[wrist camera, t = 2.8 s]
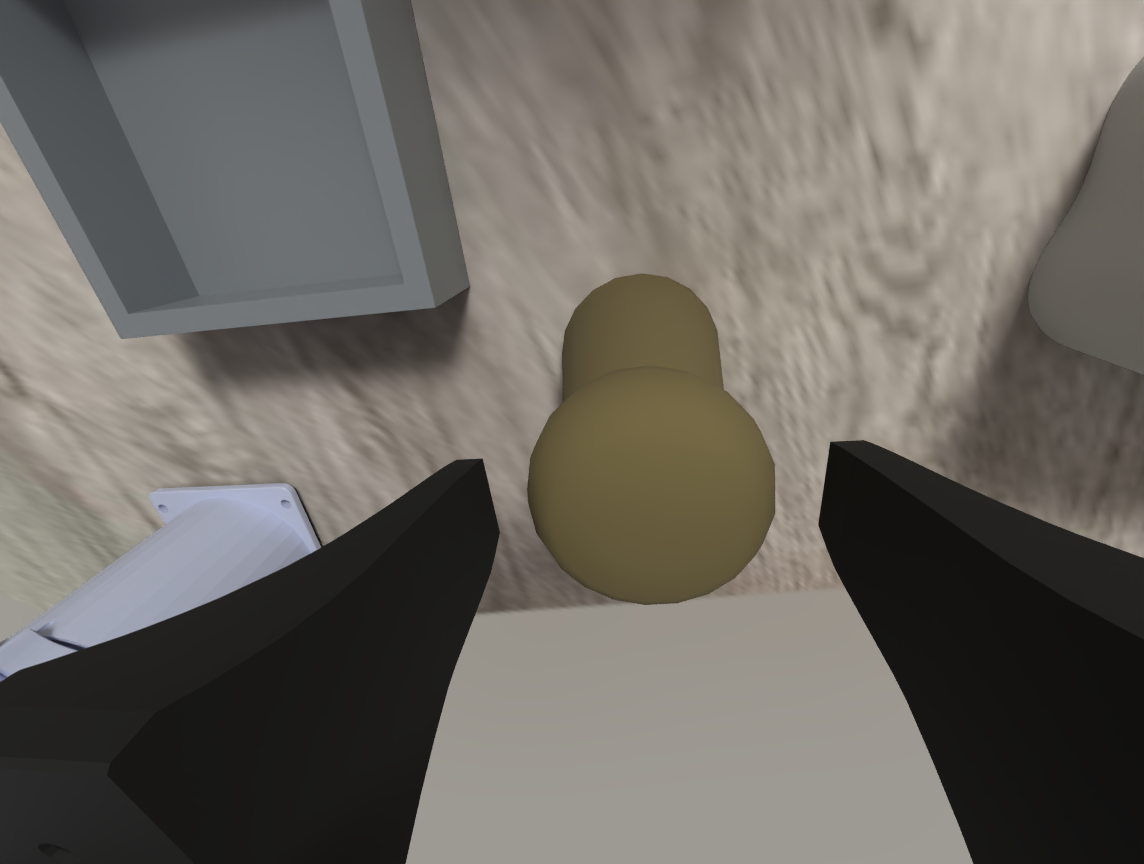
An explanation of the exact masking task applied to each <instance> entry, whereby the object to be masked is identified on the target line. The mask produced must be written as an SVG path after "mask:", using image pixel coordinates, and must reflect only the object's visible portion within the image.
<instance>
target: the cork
mask: <svg viewBox="0 0 1144 864" xmlns="http://www.w3.org/2000/svg"><path fill="white" fill-rule="evenodd" d="M562 370H563V404H562V405H560V406H559V407H558V408H557V409H556V410H555V411H554V412H553V413H552V414H551V415H550V417H549V419H548V421H547V423H546V425H545V427H544V429H543V431H542V433H541V435H540V437H539V439H538V441H537V443H536V445H535V447H534V450H533V452H532V455H531V457H530V467H529V477H528V488H527V491H528V503H529V507H530V511H531V515H532V518H533V522H534V525H535V529H536V533H537V534H538V536H539V537H540V539H541V540H542V542H543V543H544V545H545V546H546V547H547V549H548V550H549V552H550V553H551V555H552V556H553V557H554V559H555V560H556V562H557V563H558V564H559V566H560V567H561V569H562V570H564V571H565V572H566V573H568V574H569V575H570V576H571V577H573V578H574V579H575V580H577V581H578V582H579V583H580V584H582V585H583V586H584V587H586V588H588V589H591V590H593V591H595V592H598V593H600V594H602V595H605V596H607V597H609V598H612V599H615V600H620V601H626V602H632V603H638V604H643V605H650V604H668V603H679V602H683V601H686V600H689V599H693V598H696V597H700V596H703V595H707V594H709V593H711V592H712V591H714V590H716V589H717V588H719V587H721V586H722V585H724V584H726V583H727V582H729V581H731V580H732V579H734V578H735V577H736V576H737V575H738V574H739V573H740V572H741V571H742V570H743V569H744V568H745V566H746V565H747V564H748V563H749V562H750V561H751V560H752V559H753V558H754V556H755V555H756V554H757V552H758V551H759V549H760V547H761V546H762V544H763V542H764V539H765V537H766V535H767V532H768V530H769V527H770V525H771V522H772V520H773V517H774V515H775V464H774V462H773V459H772V457H771V454H770V452H769V450H768V447H767V445H766V443H765V440H764V438H763V435H762V433H761V431H760V429H759V427H758V426H757V424H756V422H755V421H754V419H753V418H752V417H751V416H750V415H749V414H748V413H747V412H746V410H745V409H744V408H743V407H742V406H741V405H740V404H739V403H738V402H737V401H736V400H735V399H734V398H733V397H732V396H731V395H730V394H729V393H728V392H727V391H725V390H724V387H723V378H722V369H721V360H720V351H719V343H718V334H717V329H716V326H715V324H714V322H713V319H712V317H711V315H710V312H709V310H708V308H707V307H706V305H705V304H704V303H703V302H702V301H701V300H700V299H699V298H698V297H697V296H696V295H695V294H694V292H693V291H692V290H691V289H689V288H687V287H685V286H683V285H681V284H679V283H678V282H676V281H674V280H672V279H670V278H668V277H662V276H655V275H648V274H636V275H631V276H625V277H620V278H615V279H613V280H611V281H610V282H608V283H606V284H604V285H602V286H600V287H598V288H597V289H595V290H593V291H592V292H591V293H590V294H589V295H588V296H587V297H586V298H585V299H584V300H583V301H582V302H581V304H580V305H579V306H578V307H577V308H576V309H575V311H574V313H573V315H572V317H571V319H570V321H569V324H568V326H567V328H566V330H565V336H564V344H563V352H562Z"/></svg>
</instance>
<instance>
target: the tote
mask: <svg viewBox="0 0 1144 864" xmlns="http://www.w3.org/2000/svg"><path fill="white" fill-rule="evenodd" d="M0 122H1V124H2V126H3V128H4V129H5V131H6V133H7V135H8V137H9V138H10V140H11V142H12V144H13V146H14V147H15V149H16V151H17V153H18V155H19V156H20V158H21V160H22V162H23V164H24V165H25V167H26V169H27V171H28V173H29V174H30V176H31V178H32V180H33V182H34V183H35V185H36V187H37V189H38V191H39V192H40V194H41V196H42V198H43V200H44V201H45V203H46V205H47V207H48V209H49V210H50V212H51V214H52V216H53V218H54V219H55V221H56V223H57V225H58V227H59V228H60V230H61V232H62V234H63V236H64V237H65V239H66V241H67V243H68V245H69V246H70V248H71V250H72V252H73V254H74V255H75V257H76V259H77V261H78V263H79V264H80V266H81V268H82V270H83V272H84V273H85V275H86V277H87V279H88V281H89V282H90V284H91V286H92V288H93V290H94V291H95V293H96V295H97V297H98V299H99V300H100V302H101V304H102V306H103V308H104V309H105V311H106V313H107V315H108V317H109V318H110V320H111V322H112V324H113V326H114V327H115V329H116V331H117V333H118V335H119V336H120V338H121V339H127V338H137V337H147V336H157V335H167V334H177V333H187V332H197V331H207V330H217V329H227V328H237V327H247V326H257V325H267V324H277V323H287V322H297V321H307V320H317V319H327V318H337V317H347V316H357V315H367V314H377V313H387V312H397V311H407V310H417V309H427V308H436V307H437V306H439V305H441V304H442V303H444V302H445V301H447V300H449V299H450V298H452V297H454V296H455V295H457V294H458V293H460V292H462V291H463V290H465V289H466V288H468V287H470V285H469V280H468V275H467V270H466V266H465V261H464V256H463V251H462V246H461V242H460V237H459V232H458V227H457V222H456V217H455V213H454V208H453V203H452V198H451V193H450V189H449V184H448V179H447V174H446V169H445V165H444V160H443V155H442V150H441V145H440V140H439V136H438V131H437V126H436V121H435V116H434V112H433V107H432V102H431V97H430V92H429V88H428V83H427V78H426V73H425V68H424V63H423V59H422V54H421V49H420V44H419V39H418V35H417V30H416V25H415V20H414V15H413V11H412V6H411V1H410V0H0Z"/></svg>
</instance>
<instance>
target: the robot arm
mask: <svg viewBox="0 0 1144 864" xmlns="http://www.w3.org/2000/svg"><path fill="white" fill-rule="evenodd" d="M149 498H150V500H151V502H152V504H153V505H154V507H155V509H156V510H157V512H158V513H159V515H160V517H161V518H162V520H163V521H164V523H165V525H164V526H163V527H161V528H160V529H159V530H157V531H156V532H155V533H153V534H152V535H150V536H149V537H148V538H146V539H145V540H144V541H142V542H141V543H139V544H138V545H137V546H135V547H134V548H133V549H131V550H130V551H128V552H127V553H126V554H124V555H123V556H122V557H120V558H119V559H117V560H116V561H115V562H113V563H112V564H111V565H109V566H108V567H106V568H105V569H104V570H102V571H101V572H100V573H98V574H97V575H95V576H94V577H93V578H91V579H90V580H89V581H87V582H86V583H84V584H83V585H82V586H80V587H79V588H78V589H76V590H75V591H73V592H72V593H71V594H69V595H68V596H67V597H65V598H64V599H62V600H61V601H60V602H58V603H57V604H56V605H54V606H53V607H51V608H50V609H49V610H47V611H46V612H45V613H43V614H42V615H40V616H39V617H38V618H36V619H35V620H34V621H33V622H31V623H29V624H28V625H27V626H25V627H24V628H23V629H21V630H20V631H19V632H17V633H16V634H14V635H13V636H11V637H9V638H7V639H5V640H4V641H2V642H0V864H405V863H406V859H407V854H408V850H409V845H410V841H411V836H412V832H413V827H414V823H415V818H416V814H417V809H418V805H419V800H420V795H421V791H422V787H423V783H424V779H425V775H426V770H427V767H428V763H429V759H430V755H431V750H432V746H433V743H434V738H435V734H436V731H437V727H438V723H439V720H440V716H441V712H442V708H443V705H444V701H445V697H446V694H447V690H448V687H449V684H450V681H451V678H452V674H453V671H454V669H455V666H456V663H457V660H458V658H459V655H460V653H461V650H462V647H463V645H464V642H465V639H466V637H467V634H468V632H469V629H470V626H471V624H472V621H473V619H474V616H475V613H476V611H477V608H478V606H479V603H480V600H481V598H482V595H483V592H484V589H485V587H486V584H487V581H488V579H489V576H490V573H491V569H492V565H493V561H494V557H495V553H496V548H497V543H498V538H499V534H500V531H499V527H498V523H497V518H496V514H495V510H494V505H493V501H492V497H491V493H490V488H489V484H488V480H487V475H486V471H485V467H484V463H483V459H465V460H456V461H454V462H452V463H450V464H448V465H447V466H445V467H443V468H442V469H440V470H439V471H437V472H436V473H434V474H433V475H431V476H430V477H429V478H427V479H426V480H424V481H423V482H421V483H420V484H419V485H417V486H416V487H414V488H413V489H411V490H410V491H408V492H407V493H406V494H404V495H403V496H401V497H400V498H398V499H397V500H396V501H394V502H393V503H391V504H390V505H388V506H387V507H385V508H384V509H382V510H381V511H379V512H378V513H376V514H375V515H373V516H371V517H370V518H368V519H367V520H365V521H364V522H362V523H361V524H359V525H357V526H356V527H354V528H353V529H351V530H350V531H348V532H347V533H345V534H343V535H342V536H340V537H338V538H337V539H335V540H333V541H332V542H330V543H328V544H326V545H325V546H323V547H321V546H320V544H319V541H318V539H317V537H316V535H315V533H314V530H313V528H312V526H311V524H310V522H309V519H308V517H307V515H306V513H305V511H304V508H303V506H302V504H301V502H300V500H299V497H298V495H297V493H296V491H295V489H294V488H293V487H292V486H291V485H289V484H285V483H274V484H252V485H229V486H206V487H184V488H161V489H156V490H155V491H153V492H152V493H151V494H150V497H149ZM288 501H289V502H290V503H289V502H288ZM818 525H819V528H820V531H821V533H822V536H823V539H824V542H825V544H826V547H827V550H828V552H829V555H830V557H831V560H832V562H833V565H834V567H835V570H836V571H837V573H838V575H839V577H840V579H841V581H842V583H843V585H844V586H845V588H846V590H847V592H848V594H849V595H850V597H851V599H852V601H853V602H854V605H855V606H856V608H857V610H858V612H859V614H860V615H861V617H862V619H863V621H864V623H865V624H866V626H867V628H868V630H869V631H870V633H871V635H872V636H873V639H874V640H875V642H876V644H877V646H878V648H879V649H880V651H881V653H882V655H883V656H884V658H885V660H886V662H887V664H888V665H889V667H890V669H891V671H892V673H893V674H894V677H895V679H896V681H897V682H898V684H899V686H900V688H901V690H902V692H903V694H904V696H905V698H906V700H907V703H908V705H909V707H910V710H911V712H912V714H913V716H914V719H915V721H916V723H917V726H918V728H919V730H920V733H921V735H922V737H923V740H924V742H925V744H926V746H927V749H928V751H929V753H930V756H931V758H932V760H933V763H934V765H935V768H936V770H937V773H938V775H939V778H940V780H941V783H942V785H943V787H944V790H945V792H946V795H947V797H948V800H949V802H950V805H951V807H952V810H953V812H954V815H955V817H956V819H957V822H958V824H959V827H960V829H961V832H962V835H963V837H964V840H965V843H966V845H967V848H968V851H969V853H970V856H971V858H972V861H973V864H1144V558H1142V557H1139V556H1136V555H1133V554H1131V553H1128V552H1125V551H1122V550H1120V549H1117V548H1114V547H1111V546H1109V545H1106V544H1103V543H1100V542H1097V541H1095V540H1092V539H1089V538H1086V537H1084V536H1081V535H1078V534H1076V533H1073V532H1070V531H1068V530H1065V529H1063V528H1060V527H1058V526H1055V525H1053V524H1050V523H1048V522H1045V521H1043V520H1040V519H1038V518H1036V517H1033V516H1031V515H1029V514H1026V513H1024V512H1022V511H1019V510H1017V509H1014V508H1012V507H1010V506H1007V505H1005V504H1003V503H1000V502H998V501H996V500H994V499H991V498H989V497H987V496H985V495H982V494H980V493H978V492H976V491H974V490H972V489H969V488H967V487H965V486H963V485H961V484H959V483H957V482H954V481H952V480H950V479H948V478H946V477H944V476H942V475H940V474H938V473H935V472H933V471H931V470H929V469H927V468H925V467H923V466H921V465H919V464H917V463H915V462H913V461H910V460H908V459H906V458H904V457H902V456H900V455H898V454H896V453H893V452H891V451H889V450H887V449H885V448H882V447H880V446H878V445H875V444H873V443H870V442H867V441H864V440H861V441H840V442H830V449H829V455H828V462H827V469H826V476H825V483H824V490H823V497H822V504H821V510H820V517H819V524H818Z"/></svg>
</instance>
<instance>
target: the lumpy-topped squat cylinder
mask: <svg viewBox="0 0 1144 864" xmlns="http://www.w3.org/2000/svg"><path fill="white" fill-rule="evenodd" d="M1028 304H1029V309H1030V312H1031V315H1032V317H1033V319H1034V321H1035V322H1036V324H1037V325H1038V327H1039V328H1040V329H1041V330H1042V331H1043V332H1044V333H1045V334H1046V335H1047V336H1048V337H1050V338H1051V339H1052V340H1054V341H1056V342H1057V343H1059V344H1061V345H1064V346H1066V347H1069V348H1071V349H1074V350H1077V351H1080V352H1082V353H1085V354H1088V355H1091V356H1093V357H1096V358H1099V359H1102V360H1104V361H1107V362H1110V363H1113V364H1115V365H1118V366H1121V367H1124V368H1126V369H1129V370H1132V371H1135V372H1137V373H1140V374H1143V375H1144V57H1143V58H1142V59H1141V60H1140V62H1139V63H1138V64H1137V65H1136V66H1135V68H1134V69H1133V70H1132V71H1131V73H1130V74H1129V76H1128V77H1127V79H1126V80H1125V82H1124V83H1123V85H1122V86H1121V88H1120V90H1119V92H1118V93H1117V95H1116V97H1115V99H1114V101H1113V103H1112V105H1111V108H1110V110H1109V112H1108V115H1107V117H1106V120H1105V123H1104V125H1103V128H1102V131H1101V134H1100V137H1099V140H1098V144H1097V147H1096V150H1095V153H1094V156H1093V159H1092V162H1091V165H1090V168H1089V171H1088V173H1087V176H1086V178H1085V181H1084V183H1083V185H1082V187H1081V189H1080V191H1079V193H1078V195H1077V197H1076V199H1075V201H1074V203H1073V204H1072V206H1071V208H1070V210H1069V211H1068V213H1067V214H1066V216H1065V218H1064V219H1063V221H1062V222H1061V224H1060V225H1059V227H1058V228H1057V230H1056V232H1055V233H1054V235H1053V236H1052V238H1051V239H1050V241H1049V243H1048V244H1047V246H1046V247H1045V249H1044V251H1043V253H1042V254H1041V256H1040V258H1039V260H1038V262H1037V264H1036V266H1035V269H1034V271H1033V274H1032V276H1031V280H1030V283H1029V288H1028Z"/></svg>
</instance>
